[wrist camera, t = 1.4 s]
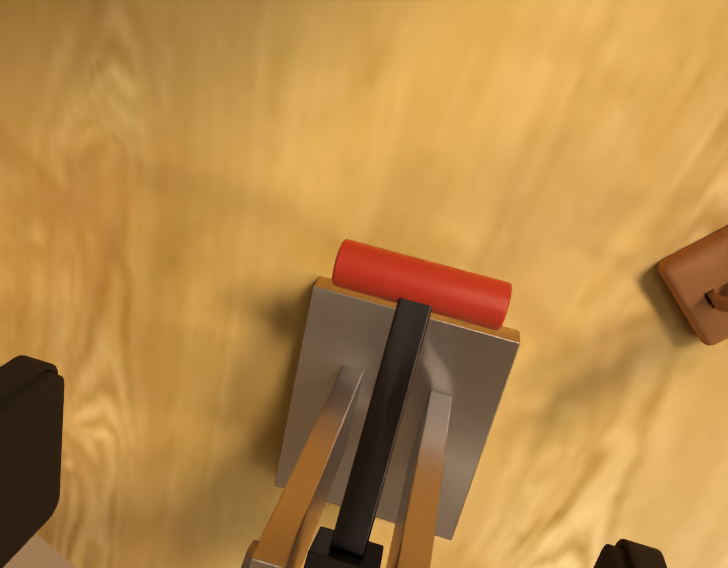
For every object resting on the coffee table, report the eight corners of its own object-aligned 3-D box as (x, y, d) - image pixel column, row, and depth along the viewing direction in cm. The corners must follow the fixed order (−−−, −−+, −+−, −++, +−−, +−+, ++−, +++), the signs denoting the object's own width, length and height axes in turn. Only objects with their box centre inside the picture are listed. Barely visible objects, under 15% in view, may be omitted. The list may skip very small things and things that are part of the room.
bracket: (320, 276, 29) (195, 442, 17) (519, 330, 28) (535, 547, 16) (281, 470, 33) (160, 711, 21) (453, 523, 32) (426, 806, 20)
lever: (349, 243, 22) (340, 233, 20) (506, 285, 21) (517, 280, 19) (251, 592, 22) (230, 625, 19) (409, 644, 21) (408, 685, 19)
